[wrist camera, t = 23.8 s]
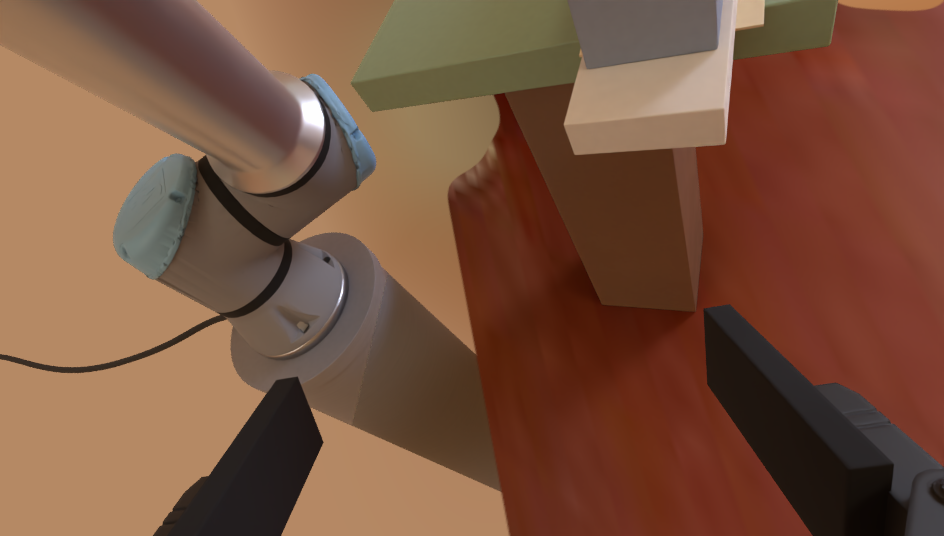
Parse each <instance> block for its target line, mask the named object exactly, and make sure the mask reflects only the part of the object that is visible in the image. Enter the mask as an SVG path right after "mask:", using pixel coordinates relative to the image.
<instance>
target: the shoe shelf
mask: <svg viewBox="0 0 944 536" xmlns="http://www.w3.org/2000/svg"><path fill="white" fill-rule="evenodd" d="M837 4H838V0H738V3H737V15H736V27H735V39H734V51H733V60H736V59H743V58H750V57H757V56H764V55H771V54H778V53H785V52H792V51H799V50H805V49H812V48H819V47H826V46H829V45H830V44H831V39H832V33H833V27H834V21H835V15H836V9H837ZM582 55H583V54H582V50H581V47H580V43H579V40H578V36H577V33H576V29H575V26H574V22H573V18H572V15H571V11H570V8H569V4H568V1H567V0H395V1H394V2H393V4H392V6H391V8H390V10H389V12H388V14H387V16H386V17H385V19H384V21H383V23H382V25H381V27H380V29H379V30H378V32H377V34H376V36H375V38H374V40H373V42H372V44H371V45H370V47H369V49H368V51H367V53H366V55H365V57H364V59H363V60H362V62H361V64H360V66H359V68H358V70H357V72H356V74H355V76H354V77H353V79H352V81H351V85H352V86H353V87H354V88H355V90H356V91H357V93H358V94H359V95H360V96H361V98H362V99H363V101H364V102H365V103H366V104H367V106H368V107H369V108H370V110H371V111H372V112H375V111H382V110H389V109H396V108H402V107H409V106H416V105H423V104H430V103H437V102H444V101H451V100H458V99H465V98H472V97H479V96H486V95H493V94H500V93H505V95H506V97H507V100H508V102H509V104H510V106H511V108H512V110H513V113H514V115H515V117H516V119H517V121H518V124H519V126H520V128H521V130H522V132H523V134H524V137H525V139H526V141H527V143H528V145H529V147H530V150H531V152H532V154H533V156H534V158H535V160H536V163H537V165H538V167H539V169H540V171H541V173H542V176H543V178H544V180H545V182H546V184H547V187H548V189H549V191H550V193H551V195H552V197H553V200H554V202H555V204H556V206H557V208H558V210H559V213H560V215H561V217H562V219H563V221H564V223H565V226H566V228H567V230H568V232H569V234H570V236H571V239H572V241H573V243H574V245H575V247H576V250H577V252H578V254H579V256H580V258H581V260H582V263H583V265H584V267H585V269H586V271H587V273H588V276H589V278H590V280H591V282H592V284H593V286H594V289H595V291H596V293H597V295H598V297H599V299H600V302H601V304H602V305H611V306H625V307H638V308H651V309H664V310H677V311H690V312H696V304H697V294H698V283H699V273H700V263H701V252H702V242H703V225H702V214H701V203H700V192H699V181H698V170H697V159H696V148H695V147H684V148H670V149H656V150H641V151H627V152H612V153H598V154H584V155H575V154H574V152H573V149H572V146H571V144H570V141H569V138H568V135H567V133H566V130H565V127H564V122H565V118H566V114H567V110H568V107H569V103H570V99H571V96H572V92H573V88H574V84H575V81H576V77H577V73H578V70H579V66H580V62H581V58H582Z"/></svg>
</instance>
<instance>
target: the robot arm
mask: <svg viewBox="0 0 944 536" xmlns="http://www.w3.org/2000/svg"><path fill="white" fill-rule="evenodd" d="M0 45H2V46H3V47H5V48H7V49H9V50H11V51H13V52H15V53H17V54H19V55H20V56H22V57H24V58H26V59H28V60H30V61H32V62H34V63H36V64H38V65H39V66H41V67H43V68H45V69H47V70H49V71H51V72H53V73H55V74H57V75H58V76H60V77H62V78H64V79H66V80H68V81H70V82H71V83H73V84H75V85H77V86H79V87H81V88H83V89H85V90H87V91H88V92H90V93H92V94H94V95H96V96H98V97H100V98H102V99H104V100H105V101H107V102H109V103H111V104H113V105H115V106H117V107H119V108H120V109H122V110H124V111H126V112H128V113H130V114H132V115H134V116H136V117H138V118H139V119H141V120H143V121H145V122H147V123H149V124H151V125H153V126H154V127H157V128H158V129H160V130H162V131H164V132H166V133H168V134H170V135H171V136H173V137H175V138H177V139H179V140H181V141H183V142H185V143H187V144H188V145H190V146H192V147H194V148H196V149H198V150H200V151H202V152H204V153H205V154H206V155H205V156H204V157H203V158H202V159H200V160H199V161H198V162H194V160H193V159H191V158H190V157H188V156H184V155H182V154H172V155H170V156H169V157H164V158H163V159H161V160H160V161H158V162H157V163H156V164H155V165H153V166H152V167H151V168H150V169H149V170H148V171H147V172H146V173H145V174H144V175H143V176H142V177H141V179H140V180H139V181H138V182H137V184H136V185H135V186H134V188H133V189H132V191H131V192H130V194H129V195H128V197H127V198H126V200H125V202H124V204H123V206H122V208H121V210H120V212H119V214H118V217H117V219H116V223H115V226H114V232H113V243H114V247H115V250H116V252H117V254H118V255H119V256H120V257H121V258H122V259H123V260H124V261H126V262H127V263H129V264H130V265H132V266H133V267H135V268H136V269H138V270H139V271H141V272H142V273H144V274H145V275H146V276H147V277H148V278H150V279H155V280H157V281H159V282H161V283H162V284H164V285H166V286H168V287H170V288H172V289H174V290H176V291H177V292H179V293H181V294H183V295H185V296H187V297H189V298H190V299H192V300H194V301H196V302H198V303H200V304H202V305H204V306H205V307H207V308H210V309H211V310H213V311H215V312H217V313H219V314H220V316H216V317H214V318H211V319H209V320H206V321H204V322H202V323H201V324H199V325H197V326H195V327H193V328H191V329H189V330H188V331H186V332H184V333H183V334H181V335H179V336H177V337H175V338H174V339H172V340H170V341H168V342H166V343H163V344H161V345H159V346H157V347H155V348H152V349H150V350H147V351H145V352H142V353H139V354H137V355H133V356H130V357H127V358H124V359H121V360H118V361H114V362H110V363H106V364H101V365H95V366H88V367H56V366H49V365H43V364H39V363H35V362H31V361H27V360H23V359H20V358H16V357H12V356H8V355H2V354H0V359H2V360H7V361H11V362H15V363H19V364H23V365H26V366H29V367H33V368H37V369H42V370H47V371H53V372H61V373H84V372H92V371H98V370H104V369H108V368H113V367H116V366H120V365H123V364H126V363H129V362H132V361H136V360H139V359H142V358H145V357H147V356H150V355H152V354H155V353H157V352H160V351H162V350H164V349H167V348H168V347H171V346H173V345H175V344H177V343H179V342H180V341H182V340H184V339H186V338H188V337H189V336H191V335H193V334H195V333H196V332H198V331H200V330H202V329H204V328H205V327H208V326H210V325H212V324H214V323H217V322H220V321H223V320H226V319H228V320H229V322H230V323H231V324H232V325H233V327H234V328H235V329H236V330H237V331H238V333H239V334H240V335H241V336H242V337H243V338H244V340H245V341H246V342H247V343H248V345H249V346H250V347H251V348H253V349H254V350H255V351H256V352H258V353H259V354H261V355H263V356H265V357H267V358H269V359H273V360H288V359H293V358H296V357H298V356H300V355H302V354H304V353H306V352H308V351H309V350H311V349H312V348H314V347H315V346H316V345H317V344H319V343H320V342H321V341H322V340H323V339H324V338H325V337H326V336H327V335H328V334H329V332H330V331H331V330H332V329H333V327H334V326H335V324H336V323H337V321H338V320H339V318H340V316H341V314H342V312H343V310H344V307H345V304H346V301H347V297H348V291H349V279H348V275H347V272H346V269H345V268H344V266H343V265H342V264H341V263H340V262H339V261H338V260H337V259H336V258H335V257H333V256H332V255H331V254H329V253H327V252H325V251H323V250H321V249H318V248H315V247H312V246H309V245H306V244H303V243H300V242H296V241H294V240H291V239H290V238H291V237H292V236H293V235H294V234H296V233H297V232H298V231H300V230H301V229H302V228H304V227H305V226H306V225H307V224H309V223H310V222H312V221H313V220H314V219H315V218H317V217H318V216H319V215H321V214H322V213H323V212H325V210H327V209H328V208H330V207H331V206H332V205H334V204H335V203H336V202H338V201H339V200H340V199H341V198H343V197H344V196H345V195H347V194H348V193H349V192H350V191H353V190H356V189H357V188H358V187H359V186H360V184H361V183H362V182H363V181H364V180H365V179H366V178H367V177H368V176H370V175H371V174H372V173H373V171H374V170H375V167H376V158H375V155H374V153H373V151H372V149H371V147H370V145H369V143H368V142H367V140H366V138H365V137H364V136H363V134H362V133H361V131H359V129H358V126H357V125H356V123H355V121H354V120H353V118H352V117H351V115H350V114H349V112H348V111H347V109H346V108H345V107H344V105H343V104H342V102H341V101H340V100H339V98H338V97H337V96H336V94H335V93H334V92H333V90H332V89H331V88H330V87H329V85H328V84H327V83H326V82H325V81H324V80H323V79H322V78H321V77H320V76H319V75H315V74H310V75H308V76H306V77H302V78H300V79H298V78H297V77H294V76H293V75H290V74H287V73H284V72H279V71H269V70H267V69H266V68H265V67H264V66H263V65H262V64H261V63H260V62H259V61H258V60H257V59H256V58H255V57H254V56H253V55H252V54H251V53H250V52H249V51H248V50H247V49H246V48H245V47H244V46H243V45H242V44H241V43H240V42H238V40H237V39H235V38H234V36H233V35H231V34H230V33H229V32H228V31H227V30H226V29H225V28H224V27H223V26H222V25H221V24H220V23H219V22H218V21H217V20H216V19H215V18H214V17H213V16H212V15H211V14H210V13H209V12H208V11H207V10H206V9H205V8H204V7H203V6H202V5H201V4H200V3H199V2H198V1H197V0H0ZM704 327H705V346H706V366H707V384H708V386H709V387H710V389H711V390H712V392H713V393H714V394H715V396H716V397H717V399H718V400H719V402H720V403H721V404H722V406H723V407H724V409H725V410H726V412H727V413H728V415H729V416H730V417H731V419H732V420H733V422H734V423H735V425H736V426H737V427H738V429H739V430H740V432H741V433H742V435H743V436H744V437H745V439H746V440H747V442H748V443H749V445H750V446H751V448H752V449H753V450H754V452H755V453H756V455H757V456H758V458H759V459H760V460H761V462H762V463H763V465H764V466H765V468H766V469H767V471H768V472H769V473H770V475H771V476H772V478H773V479H774V481H775V482H776V483H777V485H778V486H779V488H780V489H781V491H782V492H783V493H784V495H785V496H786V498H787V499H788V501H789V502H790V504H791V505H792V506H793V508H794V509H795V511H796V512H797V514H798V515H799V516H800V518H801V519H802V521H803V522H804V524H805V525H806V527H807V528H808V529H809V531H810V532H811V534H812V535H813V536H944V467H943V466H942V465H940V464H939V463H938V462H937V461H936V460H935V459H933V458H932V457H931V456H930V455H929V454H928V453H927V452H925V451H924V450H923V449H922V448H921V447H920V446H919V445H917V444H916V443H915V442H914V441H913V440H912V439H910V438H909V437H908V436H907V435H906V434H905V433H904V432H902V431H901V430H900V429H899V428H898V427H897V426H896V425H894V424H891V423H890V420H889V419H887V418H886V417H885V416H884V415H883V414H882V413H881V412H877V410H876V408H875V407H874V406H873V405H871V404H870V403H869V402H868V401H867V400H866V399H865V398H863V397H862V396H861V395H860V394H858V393H856V392H854V391H852V390H850V389H848V388H846V387H844V386H842V385H840V384H838V383H830V384H823V385H816V386H813V385H812V384H811V383H810V382H809V381H808V380H807V379H806V378H805V377H804V376H803V375H802V374H801V373H800V372H799V371H798V370H797V369H796V368H795V367H794V366H793V365H792V364H791V363H790V362H789V361H788V360H787V359H786V358H784V357H783V356H782V355H781V354H780V353H779V352H778V351H777V350H776V349H775V348H774V347H773V346H772V345H771V344H770V343H769V342H768V341H767V340H766V339H765V338H764V337H763V336H762V335H761V334H760V333H759V332H758V331H757V330H756V329H754V328H753V327H752V326H751V325H750V324H749V323H748V322H747V321H746V320H745V319H744V318H743V317H742V316H741V315H740V314H739V313H738V312H737V311H736V310H735V309H734V308H733V307H732V306H731V305H730V304H729V305H723V306H717V307H711V308H705V309H704ZM322 444H323V440H322V437H321V435H320V432H319V430H318V427H317V424H316V422H315V419H314V417H313V414H312V412H311V409H310V406H309V404H308V401H307V399H306V396H305V394H304V391H303V388H302V386H301V383H300V381H299V378H298V376H297V377H291V378H285V379H279V380H276V381H275V382H274V384H273V385H272V387H271V388H270V389H269V391H268V392H267V394H266V395H265V397H264V398H263V400H262V401H261V403H260V404H259V405H258V407H257V408H256V410H255V411H254V412H253V414H252V415H251V417H250V418H249V420H248V421H247V422H246V424H245V425H244V427H243V428H242V429H241V431H240V432H239V434H238V435H237V437H236V438H235V439H234V441H233V442H232V444H231V445H230V447H229V448H228V450H227V451H226V452H225V454H224V455H223V457H222V458H221V459H220V461H219V462H218V464H217V465H216V467H215V468H214V469H213V471H212V472H211V474H210V475H209V476H206V477H201V478H200V480H198V481H197V482H196V483H195V484H194V485H192V486H191V487H190V488H189V489H188V490H187V491H186V492H185V493H184V494H183V495H182V497H181V498H180V499H179V501H178V502H177V504H176V505H175V506H174V508H173V511H172V512H170V513H169V514H168V516H167V517H166V518H165V520H164V521H163V525H162V526H160V527H159V528H158V530H157V531H156V532H155V534H154V535H153V536H281V534H282V532H283V530H284V528H285V525H286V523H287V521H288V519H289V517H290V515H291V512H292V510H293V508H294V506H295V504H296V501H297V499H298V497H299V495H300V493H301V490H302V488H303V486H304V484H305V482H306V479H307V477H308V475H309V473H310V471H311V468H312V466H313V464H314V462H315V460H316V457H317V455H318V453H319V451H320V449H321V447H322Z"/></svg>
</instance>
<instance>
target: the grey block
mask: <svg viewBox="0 0 944 536" xmlns="http://www.w3.org/2000/svg"><path fill="white" fill-rule="evenodd" d="M567 1H568V4H569V8H570V11H571V15H572V18H573V22H574V26H575V29H576V33H577V36H578V40H579V43H580V47H581V50H582V54H583V55H582V58H581V62H580V66H579V70H578V73H577V77H576V81H575V84H574V88H573V92H572V96H571V99H570V103H569V107H568V110H567V114H566V118H565V122H564V127H565V130H566V133H567V135H568V138H569V141H570V144H571V146H572V149H573V152H574V154H575V155H584V154H598V153H612V152H627V151H641V150H656V149H670V148H684V147H699V146H713V145H724V144H725V143H726V133H727V121H728V109H729V98H730V86H731V74H732V62H733V51H734V39H735V27H736V15H737V3H738V0H567Z"/></svg>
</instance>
